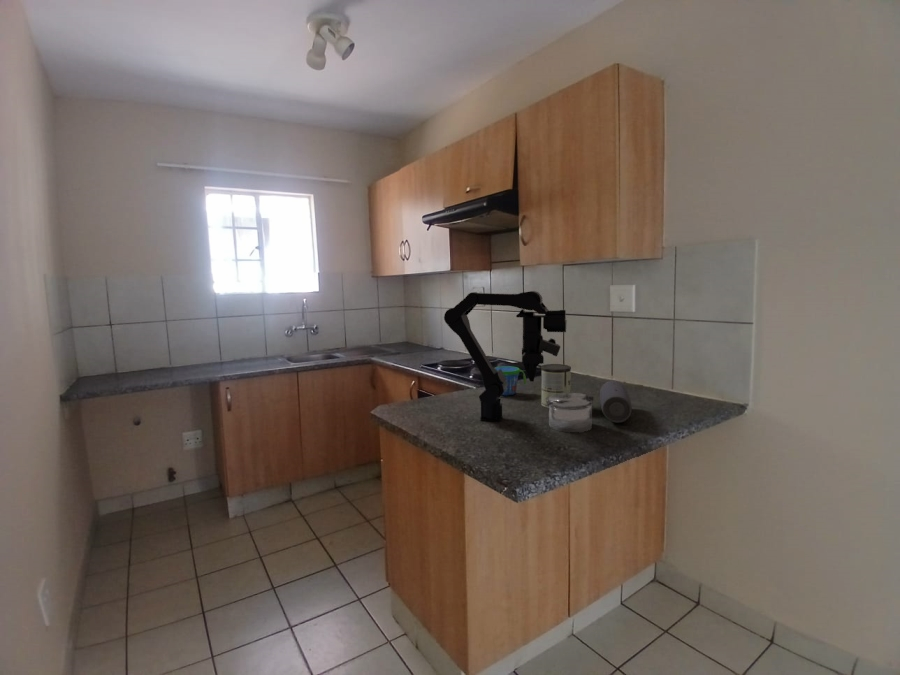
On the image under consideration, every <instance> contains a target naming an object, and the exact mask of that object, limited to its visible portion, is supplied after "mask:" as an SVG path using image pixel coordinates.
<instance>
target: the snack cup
mask: <svg viewBox="0 0 900 675" xmlns="http://www.w3.org/2000/svg"><path fill="white" fill-rule="evenodd" d="M494 368H495V369H496V370H497V371H498V370H500V369H501V370H502V372H503V375H504V376H505V377H506V378H507V380H506V382H507V389H506V390H505V392H504V393H503V394H502V395H501V396H513V395H515V394H516V393H517V389H518V388H517V387H518V381H519V380H518V379H519V375H520V373H522V376H523V386H525V385H526V384H527V377H526V376H527V375H526V373H525V372H524V370H522V369H520V368H519V367H517V366H508V365H507V366H506V365H505V366H495V367H494Z"/></svg>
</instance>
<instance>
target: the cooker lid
mask: <svg viewBox="0 0 900 675" xmlns="http://www.w3.org/2000/svg"><path fill="white" fill-rule="evenodd" d="M593 401H594V395H593V394H592V392H591V390H585V393H578V392H570V393H562V394H556V395H552V396H550V397H547V398H546V402H547V405H552V406H555V407H560V408H580V407H586V406H589V405H591V404H592V405H593Z"/></svg>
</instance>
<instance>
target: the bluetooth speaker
mask: <svg viewBox="0 0 900 675" xmlns="http://www.w3.org/2000/svg"><path fill="white" fill-rule="evenodd" d="M599 405H600V409H601V412H602V414H603V415H604V417H605V418H606V419H607V420H609V421H610V422H612V423H616V424H617V423H618V424H619V423H623V422H625V421H627V420H628V419H629V418H630V417H631V415H632V412H633V411H632V406H633V405H632V400H631V398H630V394H629V393H628V389H627V388H626V387H625V385H624V384H622V383H621V382H619V381H618V380H608V381H606V382H605V383H603V385H601V387H600V390H599Z"/></svg>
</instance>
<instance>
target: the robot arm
mask: <svg viewBox="0 0 900 675" xmlns="http://www.w3.org/2000/svg"><path fill="white" fill-rule="evenodd" d="M477 305H479V306H481V305H482V306H505V307H514V308H517V309H520V311H519V312H518V314H516V316H515V317H516V318H522V348H521V363H522V364H523V367H524V370H525V372H526V374H527V375H526V376H527V377H528V380H529V382H534V380H535V377H536V372H537V367H538V366H539V365H541V364H543V365H544V363H545V362H544V361H545V360H544V355H543V353H544V352H545V353H548V354H550V355H552V356H554V357H558V355H559V352H560V349H561V345H560V344H558V343H556V339H555V338H549V339H548V340H546V339H544V337H543V335H542V326H543V330H546V332H547V333H567V326H568V325H567V324H568V323H567V321H568V320H567V312H566V311H567V310H566V309H559V310H552V309H551V310H549V309H548V307H547V306H546V304H544V301H543V297H542V295H541V294H540V292H539V291H536V290H532V291H531V290H530V291H525V292H518V293H492V292H491V293H489V292H488V293H487V292H485V293H484V292H476V291H475V292H474V291H473V292H469V293H468V294H467V295H466V296H465V297H464V298H463V299H461V301H459V302H458V303H457V304H456V305H455V306H454V307H451V308H448V309H447V310H446V311H445V313H444V316H443V320H444V322H445V324H446V325H447V327H449V328H450V330H451V331H452V332H454V333H455V334H456V335H457V336H458V337H459V339H460V340H461V342H462V343H463V345H464V347H465V348H466V350H467V353H468V354H469V355H470V357H471V359H472V360H473V362H474V364H475V366H476V368H477V369H478V371H479V372H480V376H481V379H482V385H483V386H484V389H485V390H484V391H483V392H482V393H480V395H479V396H478V398H479V401H480V418H479V421H488V422H489V421H490V422H492V421H493V422H501V420H502V419H501V418H503V403H501V402H502V401H501V399H502V398H501V396H503V395H502V394H503V393H504V392H505V390H506V389H507V382H506V380H507V378H506V377H505V376H504V375H503V372H502V370H501V369H500V370H498V371H497V370H496V369H495V367H494V366H493V365H492V363H491V361H490V360H489V358H488V356H487V354H486V353H485V351H484V349H483V348H482V346H481V345H480V343H479V341H478V340H477V337H476V336H475V334H474V332H473V331H472V329H471V328H472V327H471V324H470V320H469V317H468V315H469V314H470V313H471V312H473V310H474V309H475V307H476V306H477ZM536 313H538V314H536ZM542 318H543V320H542ZM542 322H543V323H542ZM542 324H543V325H542Z"/></svg>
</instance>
